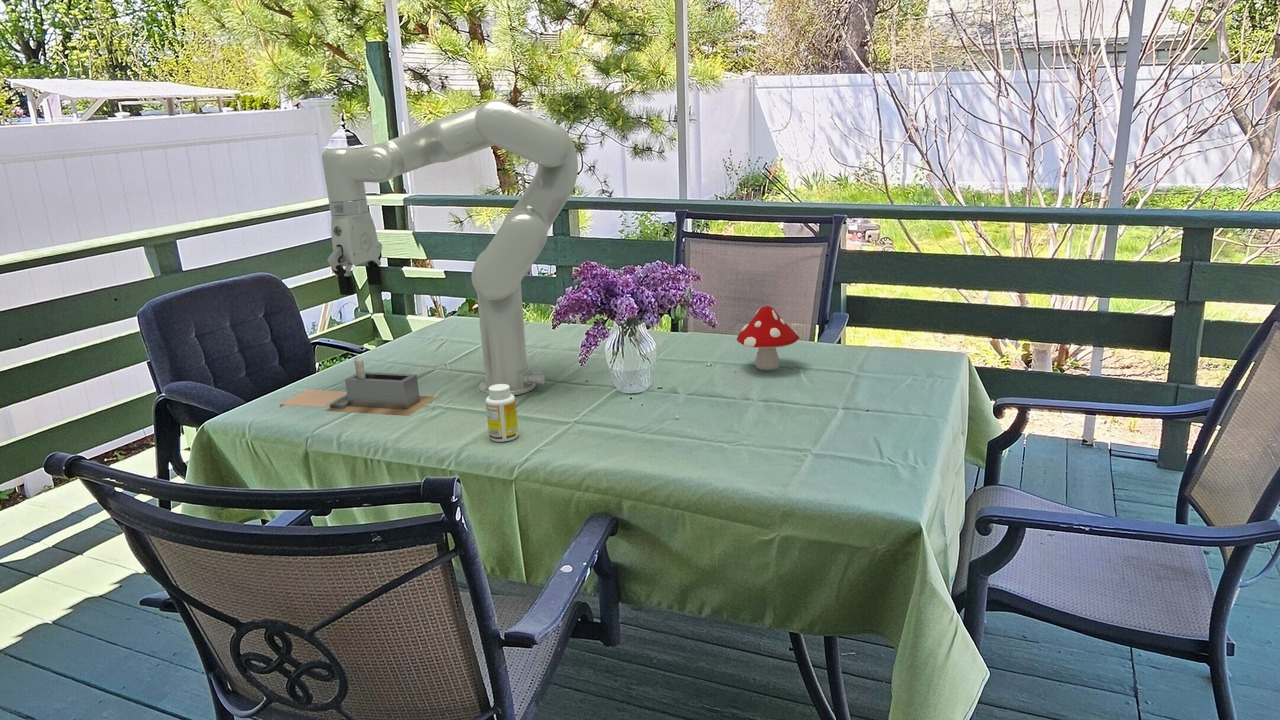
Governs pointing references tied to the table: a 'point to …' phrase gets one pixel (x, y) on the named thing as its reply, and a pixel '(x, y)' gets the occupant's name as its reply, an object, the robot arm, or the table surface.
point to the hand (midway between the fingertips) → (361, 289)
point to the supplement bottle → (501, 413)
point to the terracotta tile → (314, 398)
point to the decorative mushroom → (767, 337)
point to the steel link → (383, 390)
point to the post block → (344, 406)
